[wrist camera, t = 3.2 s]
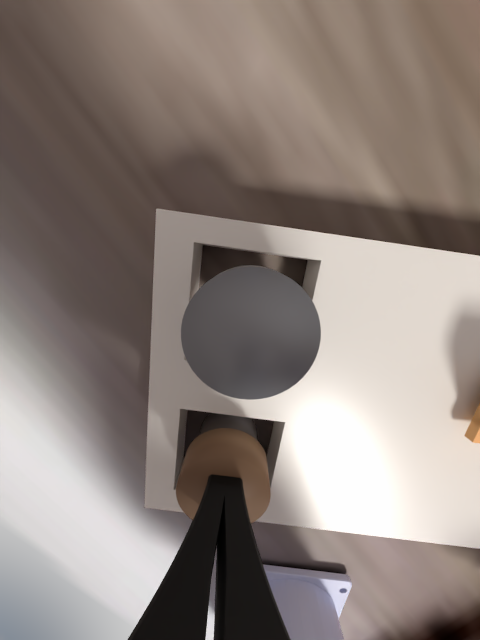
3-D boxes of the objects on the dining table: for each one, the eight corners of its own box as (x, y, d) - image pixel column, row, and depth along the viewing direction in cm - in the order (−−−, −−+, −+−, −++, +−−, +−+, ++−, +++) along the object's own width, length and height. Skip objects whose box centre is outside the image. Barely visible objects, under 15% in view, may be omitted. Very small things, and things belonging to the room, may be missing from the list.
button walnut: (257, 464, 14) (262, 535, 10) (191, 456, 14) (172, 524, 10) (269, 407, 13) (278, 463, 9) (197, 397, 13) (179, 450, 9)
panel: (468, 513, 15) (502, 552, 13) (157, 474, 14) (143, 508, 12) (593, 278, 11) (670, 283, 9) (172, 217, 11) (155, 208, 9)
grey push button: (284, 358, 11) (304, 407, 7) (198, 346, 11) (176, 390, 7) (303, 270, 10) (336, 278, 6) (207, 257, 10) (186, 256, 6)
